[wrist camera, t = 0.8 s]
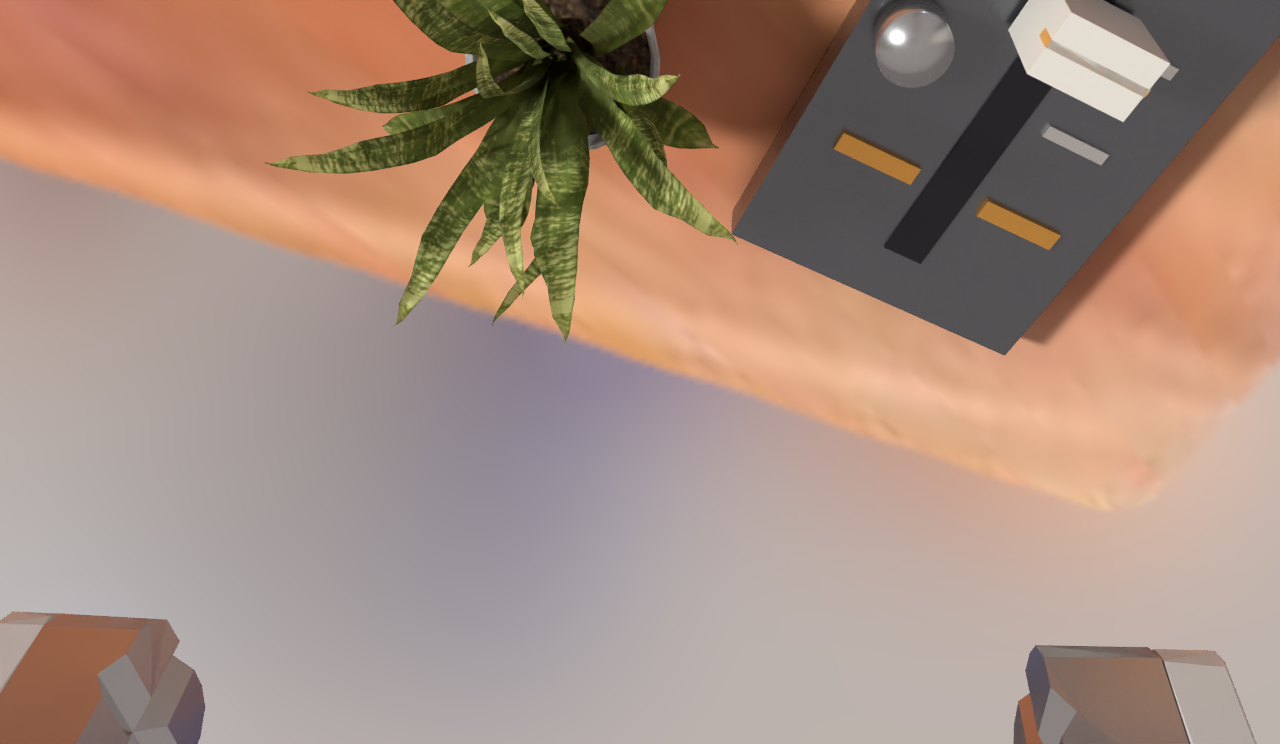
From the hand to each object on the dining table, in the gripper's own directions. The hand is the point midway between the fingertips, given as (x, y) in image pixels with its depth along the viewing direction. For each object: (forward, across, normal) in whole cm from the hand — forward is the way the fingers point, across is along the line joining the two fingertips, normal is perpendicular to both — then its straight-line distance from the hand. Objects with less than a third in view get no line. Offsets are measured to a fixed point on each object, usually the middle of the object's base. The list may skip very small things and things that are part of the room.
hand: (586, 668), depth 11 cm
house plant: (+38, +7, +6) cm, 39 cm away
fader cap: (+35, -13, +8) cm, 38 cm away
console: (+38, -11, +11) cm, 41 cm away
